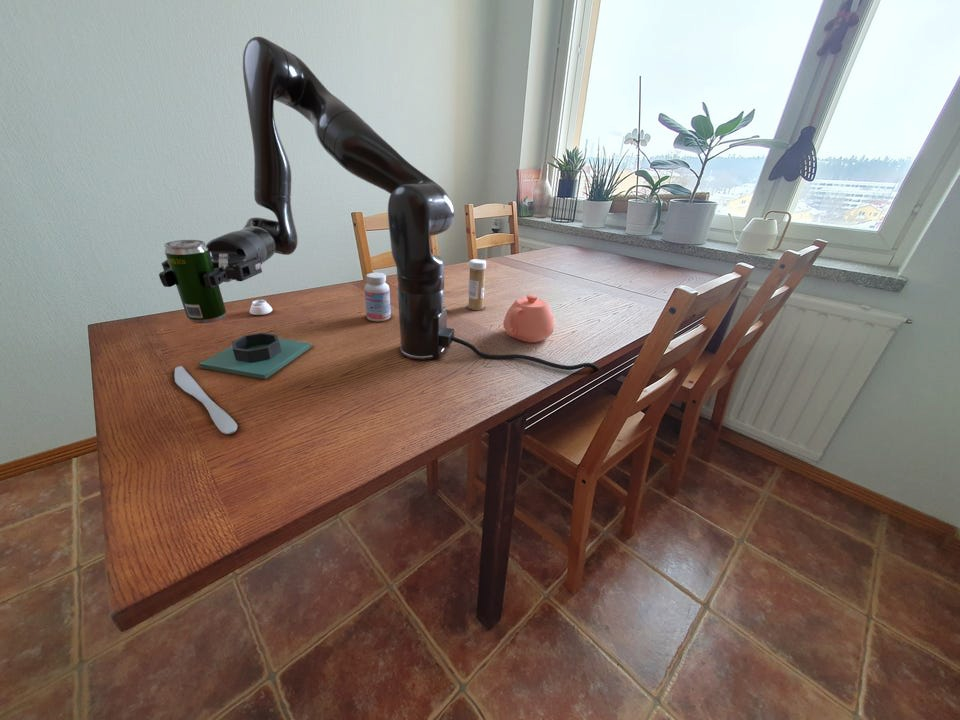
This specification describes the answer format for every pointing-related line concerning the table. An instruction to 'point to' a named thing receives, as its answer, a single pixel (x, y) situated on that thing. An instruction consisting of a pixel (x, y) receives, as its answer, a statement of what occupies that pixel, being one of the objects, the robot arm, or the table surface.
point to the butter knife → (205, 401)
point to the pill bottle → (377, 297)
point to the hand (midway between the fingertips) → (186, 281)
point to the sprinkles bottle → (476, 284)
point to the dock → (256, 367)
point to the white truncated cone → (260, 307)
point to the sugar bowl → (529, 319)
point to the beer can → (194, 280)
